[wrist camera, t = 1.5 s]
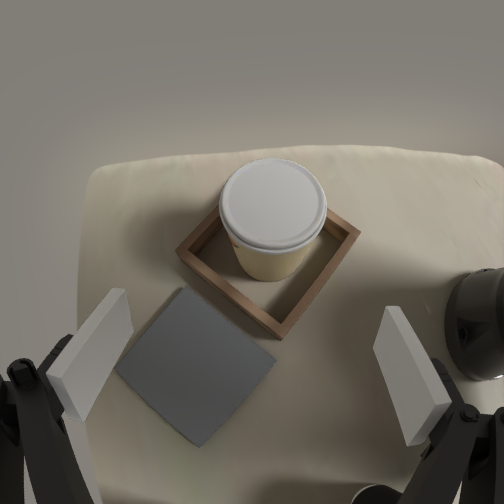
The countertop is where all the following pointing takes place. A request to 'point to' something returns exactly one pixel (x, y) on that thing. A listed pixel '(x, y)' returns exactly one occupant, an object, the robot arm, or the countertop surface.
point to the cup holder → (188, 256)
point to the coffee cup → (272, 216)
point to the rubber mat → (194, 367)
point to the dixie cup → (376, 495)
